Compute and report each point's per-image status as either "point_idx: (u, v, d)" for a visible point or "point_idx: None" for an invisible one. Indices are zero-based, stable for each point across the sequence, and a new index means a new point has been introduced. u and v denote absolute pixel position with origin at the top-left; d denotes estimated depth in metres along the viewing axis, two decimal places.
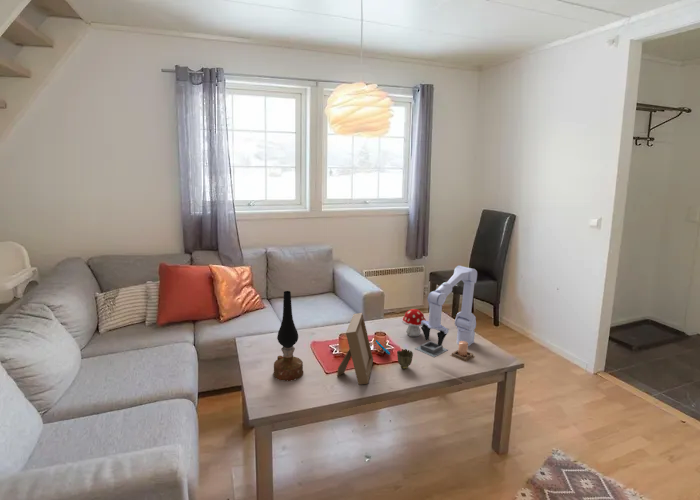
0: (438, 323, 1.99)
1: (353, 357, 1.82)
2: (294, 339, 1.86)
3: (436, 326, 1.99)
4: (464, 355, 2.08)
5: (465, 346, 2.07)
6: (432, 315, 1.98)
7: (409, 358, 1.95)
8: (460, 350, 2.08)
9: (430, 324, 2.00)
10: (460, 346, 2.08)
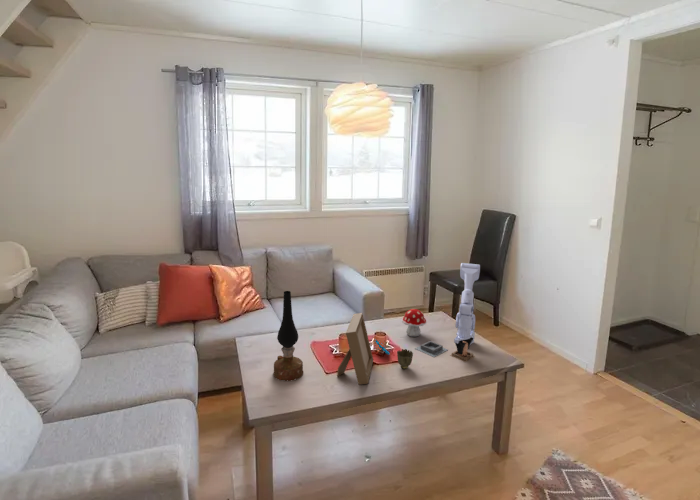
0: (460, 332, 2.06)
1: (353, 357, 1.82)
2: (294, 339, 1.86)
3: (458, 334, 2.07)
4: (464, 355, 2.08)
5: (465, 346, 2.07)
6: (465, 326, 2.04)
7: (409, 358, 1.95)
8: None
9: None
10: None
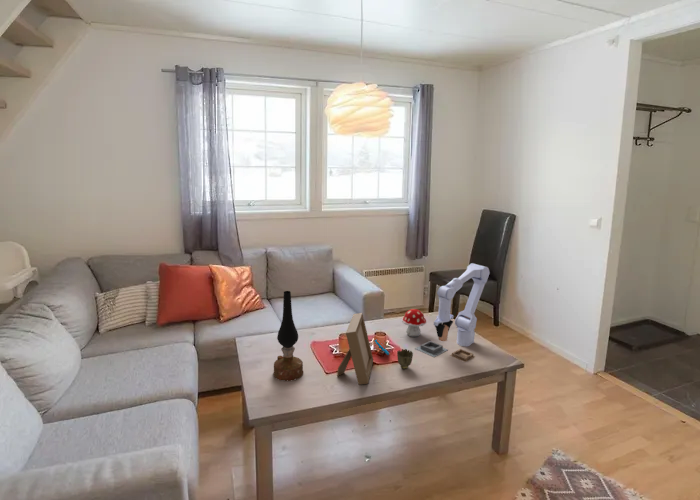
0: (439, 315, 2.09)
1: (353, 357, 1.82)
2: (294, 339, 1.86)
3: (438, 317, 2.10)
4: (445, 338, 2.10)
5: (446, 330, 2.09)
6: (441, 308, 2.07)
7: (409, 358, 1.95)
8: None
9: None
10: None
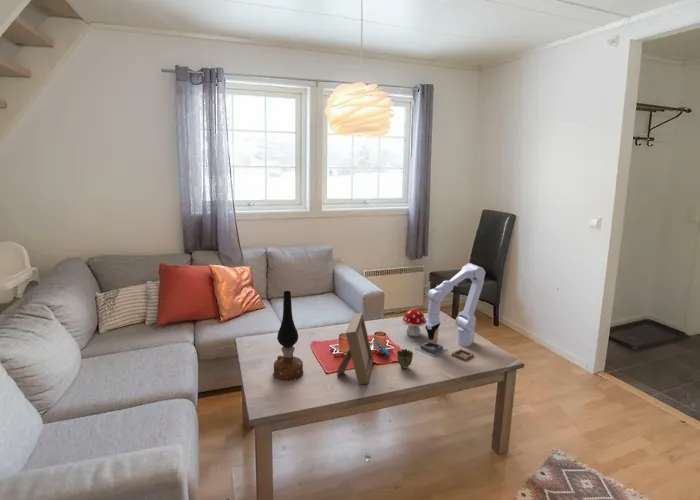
0: (430, 318, 2.11)
1: (353, 357, 1.82)
2: (294, 339, 1.86)
3: (428, 320, 2.12)
4: (436, 341, 2.13)
5: (437, 332, 2.12)
6: (429, 311, 2.10)
7: (409, 358, 1.95)
8: None
9: None
10: None
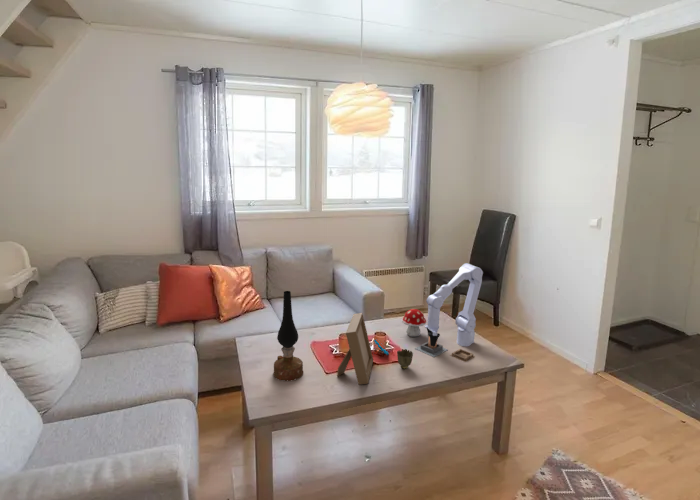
0: (432, 324, 2.11)
1: (353, 357, 1.82)
2: (294, 339, 1.86)
3: (430, 327, 2.11)
4: None
5: None
6: (429, 316, 2.11)
7: (409, 358, 1.95)
8: None
9: (427, 324, 2.14)
10: None
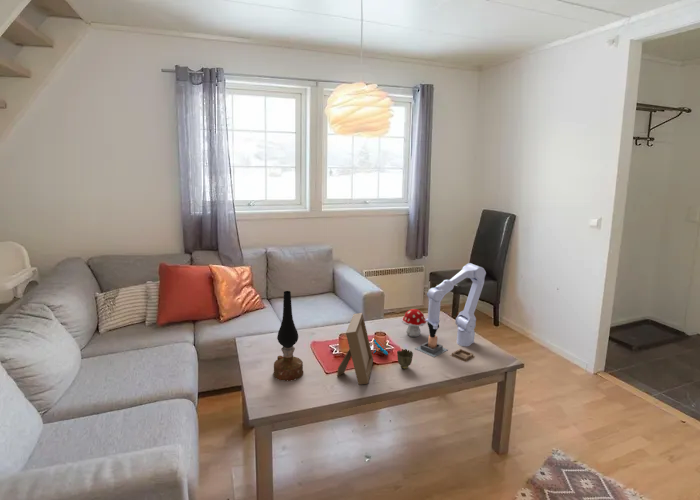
0: (432, 318, 2.10)
1: (353, 357, 1.82)
2: (294, 339, 1.86)
3: (430, 320, 2.11)
4: None
5: None
6: (429, 310, 2.10)
7: (409, 358, 1.95)
8: (433, 344, 2.14)
9: None
10: (433, 340, 2.13)
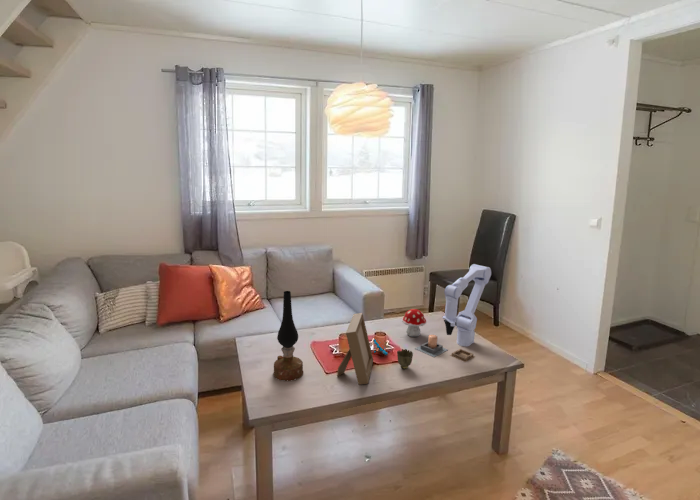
0: (450, 315, 2.08)
1: (353, 357, 1.82)
2: (294, 339, 1.86)
3: (448, 317, 2.08)
4: None
5: None
6: (448, 307, 2.07)
7: (409, 358, 1.95)
8: (433, 344, 2.14)
9: None
10: (433, 340, 2.13)
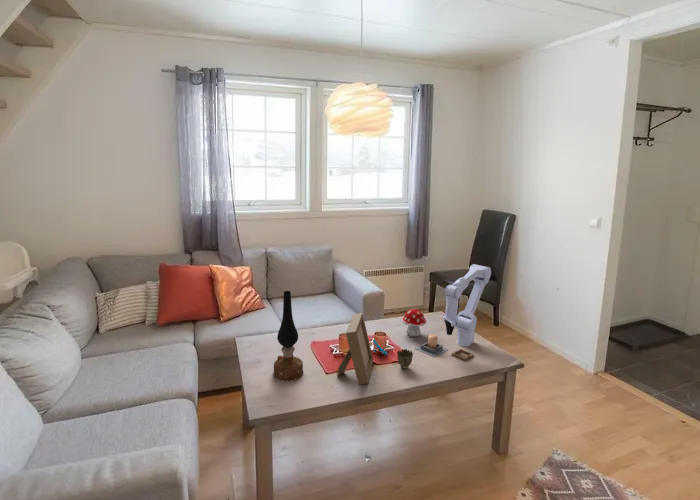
0: (450, 315, 2.07)
1: (353, 357, 1.82)
2: (294, 339, 1.86)
3: (448, 317, 2.08)
4: None
5: None
6: (449, 307, 2.07)
7: (409, 358, 1.95)
8: (433, 344, 2.14)
9: (445, 315, 2.11)
10: (433, 340, 2.13)
